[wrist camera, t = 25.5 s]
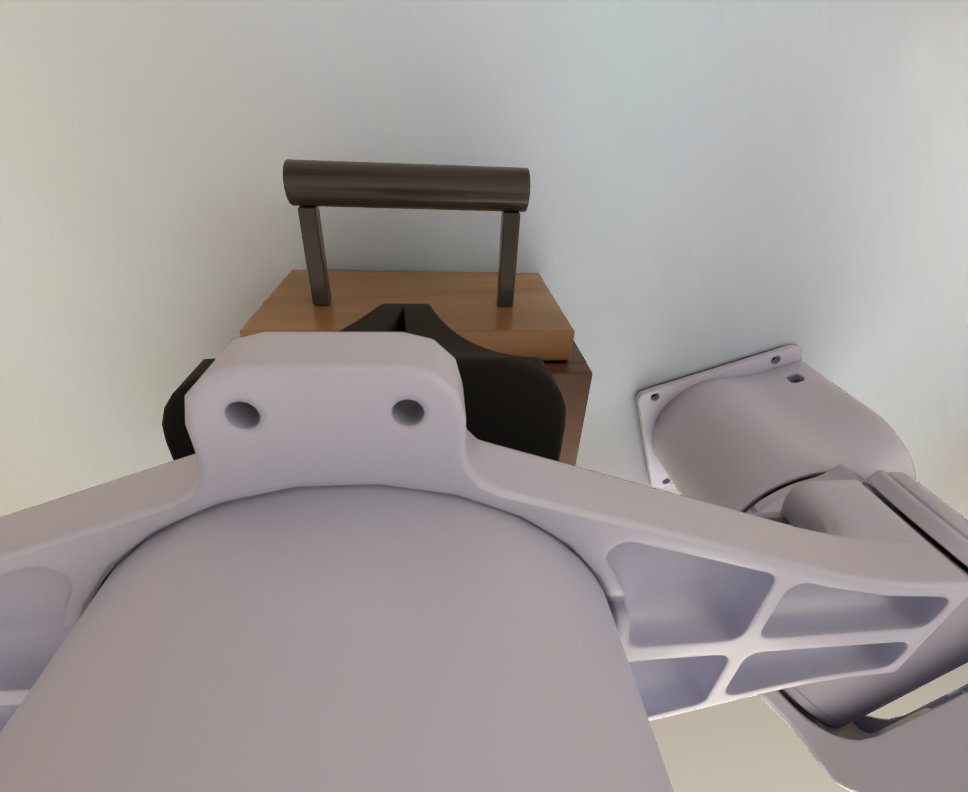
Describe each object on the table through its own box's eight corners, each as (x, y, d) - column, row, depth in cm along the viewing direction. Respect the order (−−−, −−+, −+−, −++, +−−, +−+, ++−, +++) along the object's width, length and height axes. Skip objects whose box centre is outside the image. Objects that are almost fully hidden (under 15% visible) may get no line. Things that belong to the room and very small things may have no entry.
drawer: (269, 147, 18) (196, 166, 13) (550, 158, 20) (599, 179, 14) (331, 490, 28) (304, 588, 22) (516, 484, 29) (536, 576, 24)
